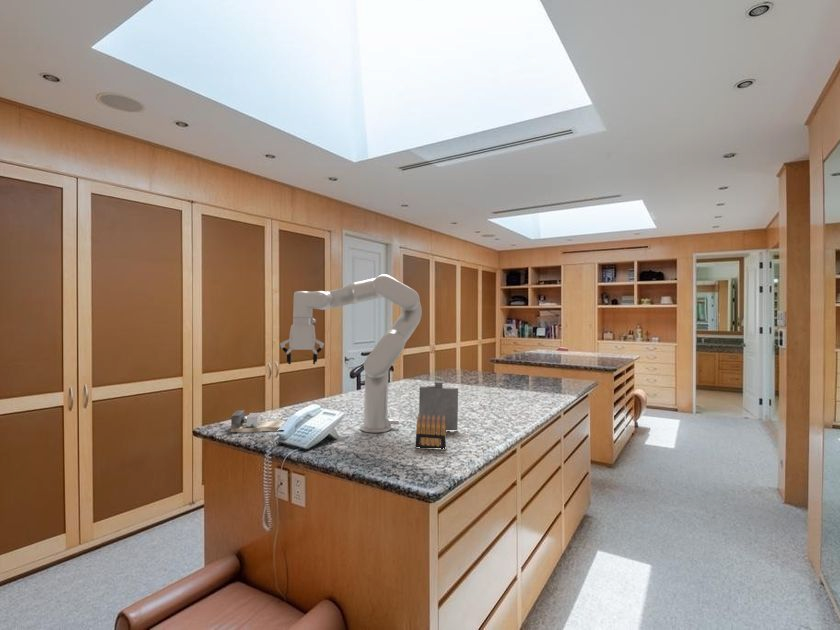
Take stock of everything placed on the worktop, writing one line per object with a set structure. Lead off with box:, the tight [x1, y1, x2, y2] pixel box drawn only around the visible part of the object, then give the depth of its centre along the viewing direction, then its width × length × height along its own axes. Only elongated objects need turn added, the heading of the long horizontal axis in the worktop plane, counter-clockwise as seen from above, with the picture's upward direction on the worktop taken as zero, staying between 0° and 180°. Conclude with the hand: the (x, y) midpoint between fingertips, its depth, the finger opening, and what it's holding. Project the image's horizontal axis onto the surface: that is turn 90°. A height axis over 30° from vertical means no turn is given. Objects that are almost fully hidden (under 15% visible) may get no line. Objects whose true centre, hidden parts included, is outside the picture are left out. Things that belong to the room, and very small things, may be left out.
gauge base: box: [230, 410, 286, 433], centre depth 174 cm, size 20×10×6 cm, turn 101°
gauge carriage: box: [241, 412, 262, 428], centre depth 172 cm, size 6×9×4 cm
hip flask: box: [418, 381, 459, 431], centre depth 177 cm, size 16×4×20 cm, turn 80°
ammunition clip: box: [414, 413, 447, 449], centre depth 153 cm, size 11×2×12 cm, turn 81°
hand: (301, 363), depth 175 cm, fingers open, 9 cm apart
